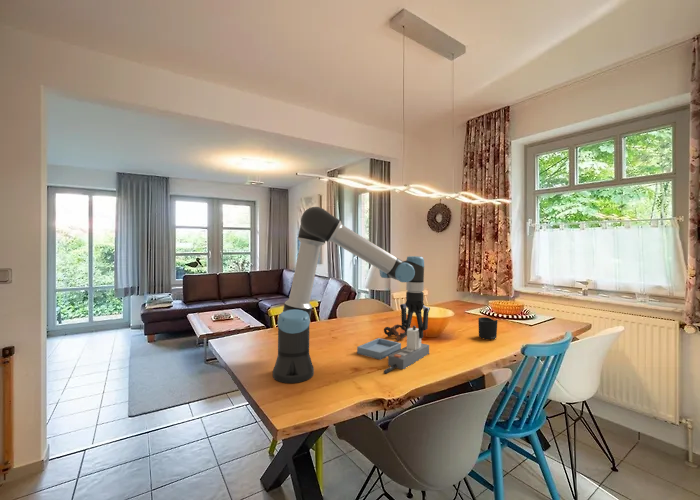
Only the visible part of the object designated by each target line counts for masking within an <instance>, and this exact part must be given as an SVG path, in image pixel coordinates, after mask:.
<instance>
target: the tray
mask: <svg viewBox="0 0 700 500" xmlns="http://www.w3.org/2000/svg"><path fill="white" fill-rule="evenodd" d="M400 349H402V342H398V341H393V340H389V339H385V338H381V337H378V338H375V339H373V340H371V341H368V342H366V343H364V344H360V345H359V346H356V354H357V355H362V356H366V357H369V358H372V359H374V360H375V359H376V360H380V361H381V360H383V359H385V358H387V357H388V356H389V355H391V354H393V353H395V352H396V351H398V350H400Z"/></svg>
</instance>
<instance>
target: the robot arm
mask: <svg viewBox="0 0 700 500" xmlns="http://www.w3.org/2000/svg"><path fill="white" fill-rule="evenodd" d="M297 234H298V235H297V236H298V237H297V239H298V240H299V243H300V244H299V248H298V255H297V258H296V264H295V267H294V274H293V278H292V282H291V283H292V284H291V287H290V293H289V296H288V297H289V298H288V299H287V300H286V301H284V304H283V307H282V312H280V313H279V314H278V317H277V356H276V357H277V358H276V360H275V364H274V367H273V370H272V378H273V379H274V380H275V381H277V382H279V383H285V384H297V383H302V382H306V381H308V380H310V379H311V378H313V377H314V374H315V373H314V372H315V369H314V365H313V362H312V359H311V356H310V324H311V314H312V309H313V306H312V304H311V303H310V302H311V297H312V292H313V288H314V287H313V286H314V280H315V277H316V271H317V267H318V261H319V256H320V252H321V248H322V247H323V246H324V245H325V244H326V242H327V243H330V242H332V243H334V244H335V245H337V246H339V247H340V248H342V249H344V250H345V251H347V252H349V253H351V254H352V255H354V256H356V257H358V258H359V259H361V260H363V261H364V262H366V263H368V264H369V265H371V266H373V267H375V268H376V269H378V270H379V271H378V272H379V277H380V278H382V279H393V280H397V281H398V282H400V283H406V286H405V290H406V292H405V293H406V294H405V299H406V300H405V303H401V304H399V307H400V310H401V315H400V317H401V325H402V326H404V327H405V328H406V336H407V330H409V329H411V328H412V326H411V324H412V318H413V315H414V314H415V316H416V322H417V323H416V324H417V328H418V329H419V330H418V331H417V346H420V345H421V343H422V339H423V338H424V331H426V330H428V326H429V325H428V324H429V312H430V310H431V308H430V307H429V306H426V305H425V304H424V295H425V293H424V291H425V290H424V289H425V288H424V287H425V285H424V284H425V282H424V281H425V280H424V279H425V259H424V257H423V256H416V255H414V256H411V255H409V256H406V260H402V259H400V258H398V257H396V256H395V255H393V254H392V253H390V252H388V251H387V250H384V249H383V248H381V246H378V245H376V244H375V243H373V242H372V241H370V240H368V239H366V238H365V237H363V236H361V235H360V234H359V233H357V232H355V231H353V230H351V229H350V228H348V227H347V226H345V225H343V223H342V221H341V219H338V218H337V217H335V216H334V215H333V214H331V213H330V212H328V211H327V210H325V209H324V208H322V207H319V206H312V207H309V208H307V209H306V210H305V211H303V213H302V214H301V217H300V225H299V231H298V233H297ZM422 312H423V313H422ZM422 315H423V316H422Z"/></svg>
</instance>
